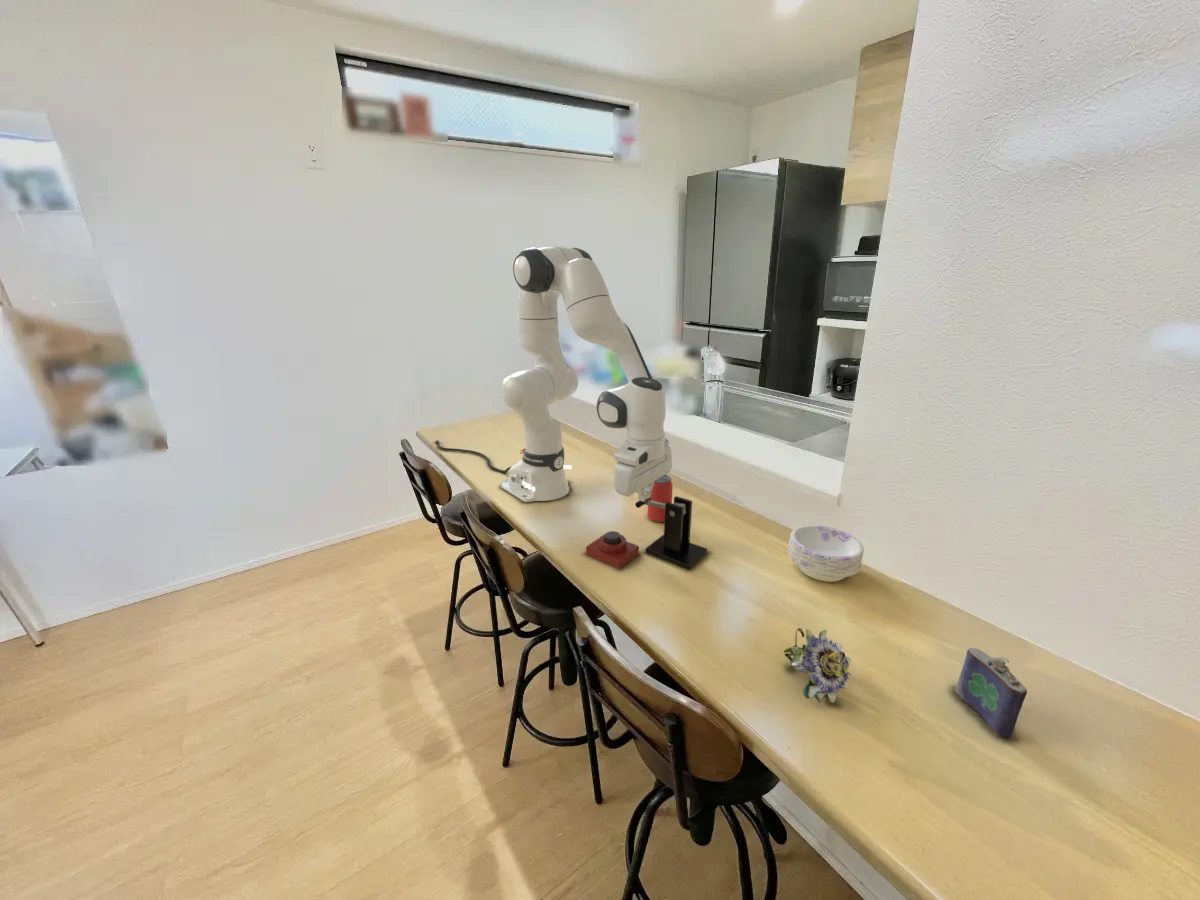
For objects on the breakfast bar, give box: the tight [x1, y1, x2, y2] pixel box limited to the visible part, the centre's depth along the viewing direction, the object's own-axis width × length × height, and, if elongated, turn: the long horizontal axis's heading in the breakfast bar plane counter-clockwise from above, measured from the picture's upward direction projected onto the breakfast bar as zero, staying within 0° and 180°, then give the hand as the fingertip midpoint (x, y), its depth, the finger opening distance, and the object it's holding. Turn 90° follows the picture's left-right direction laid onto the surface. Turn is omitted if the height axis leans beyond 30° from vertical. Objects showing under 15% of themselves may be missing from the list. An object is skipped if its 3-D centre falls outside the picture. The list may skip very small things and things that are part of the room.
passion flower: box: [783, 627, 852, 704], centre depth 82 cm, size 11×11×12 cm
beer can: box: [647, 474, 674, 523], centre depth 135 cm, size 7×7×12 cm
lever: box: [635, 497, 686, 515], centre depth 119 cm, size 12×5×2 cm, turn 52°
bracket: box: [645, 496, 708, 570], centre depth 118 cm, size 12×9×14 cm
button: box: [604, 530, 621, 545], centre depth 119 cm, size 4×4×2 cm
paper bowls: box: [787, 524, 865, 583], centre depth 112 cm, size 15×15×8 cm
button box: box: [585, 533, 640, 569], centre depth 119 cm, size 10×8×4 cm
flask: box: [954, 647, 1028, 740], centre depth 75 cm, size 9×3×11 cm, turn 8°
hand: (644, 499), depth 122 cm, fingers closed, pressing on lever
